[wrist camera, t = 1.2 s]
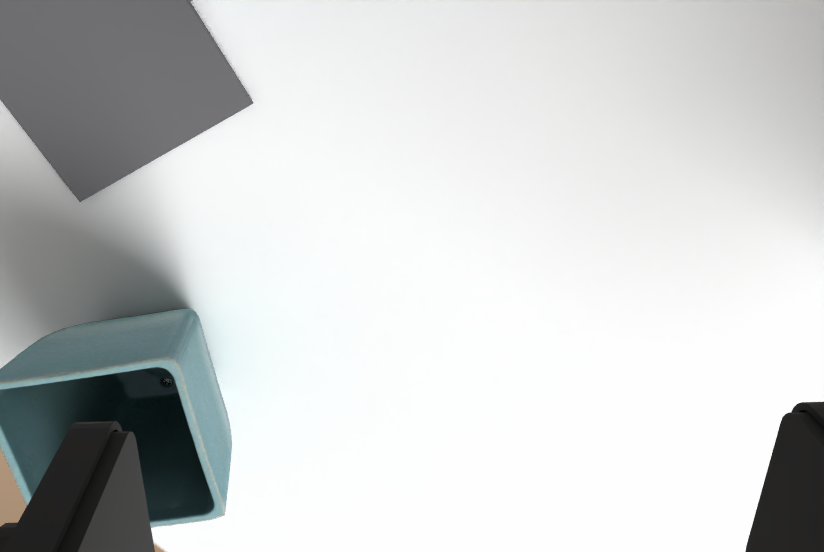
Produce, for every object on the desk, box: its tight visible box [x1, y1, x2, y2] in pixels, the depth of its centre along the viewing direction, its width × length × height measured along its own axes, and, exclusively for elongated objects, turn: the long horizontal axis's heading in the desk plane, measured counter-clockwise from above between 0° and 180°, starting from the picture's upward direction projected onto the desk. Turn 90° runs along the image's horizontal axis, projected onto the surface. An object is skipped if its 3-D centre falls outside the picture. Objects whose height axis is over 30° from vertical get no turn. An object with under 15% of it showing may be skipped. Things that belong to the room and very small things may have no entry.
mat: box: [0, 0, 253, 202], centre depth 35 cm, size 10×10×1 cm
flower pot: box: [0, 309, 232, 528], centre depth 38 cm, size 9×9×9 cm
